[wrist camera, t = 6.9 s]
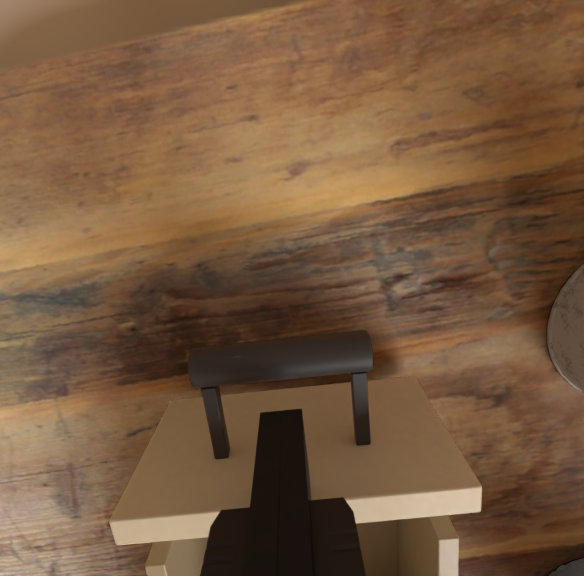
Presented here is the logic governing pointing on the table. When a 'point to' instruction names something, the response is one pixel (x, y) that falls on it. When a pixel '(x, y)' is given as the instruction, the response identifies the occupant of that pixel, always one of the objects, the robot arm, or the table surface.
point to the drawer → (320, 451)
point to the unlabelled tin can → (568, 331)
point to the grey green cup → (570, 569)
